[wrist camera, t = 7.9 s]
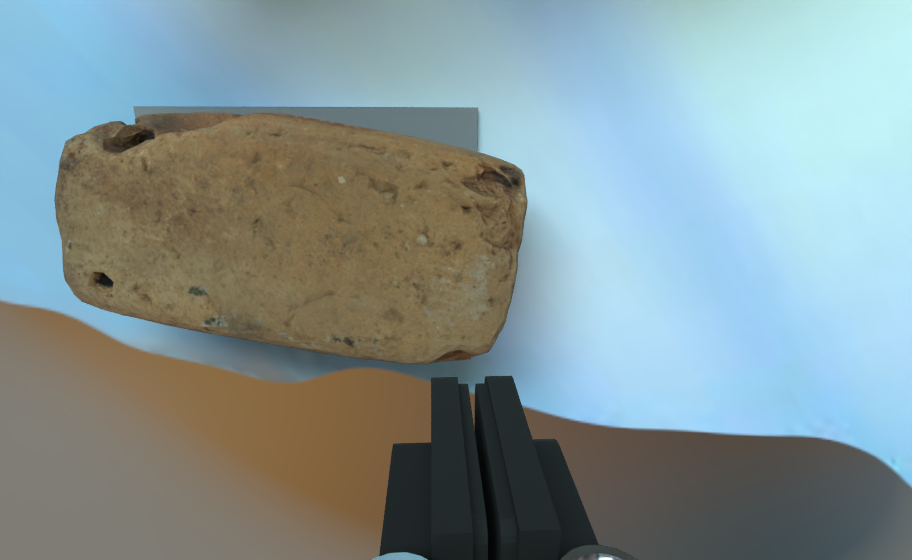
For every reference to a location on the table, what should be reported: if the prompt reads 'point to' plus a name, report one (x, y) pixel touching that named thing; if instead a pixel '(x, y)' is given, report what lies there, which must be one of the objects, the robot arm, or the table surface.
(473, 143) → the mat
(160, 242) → the block
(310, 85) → the table surface
